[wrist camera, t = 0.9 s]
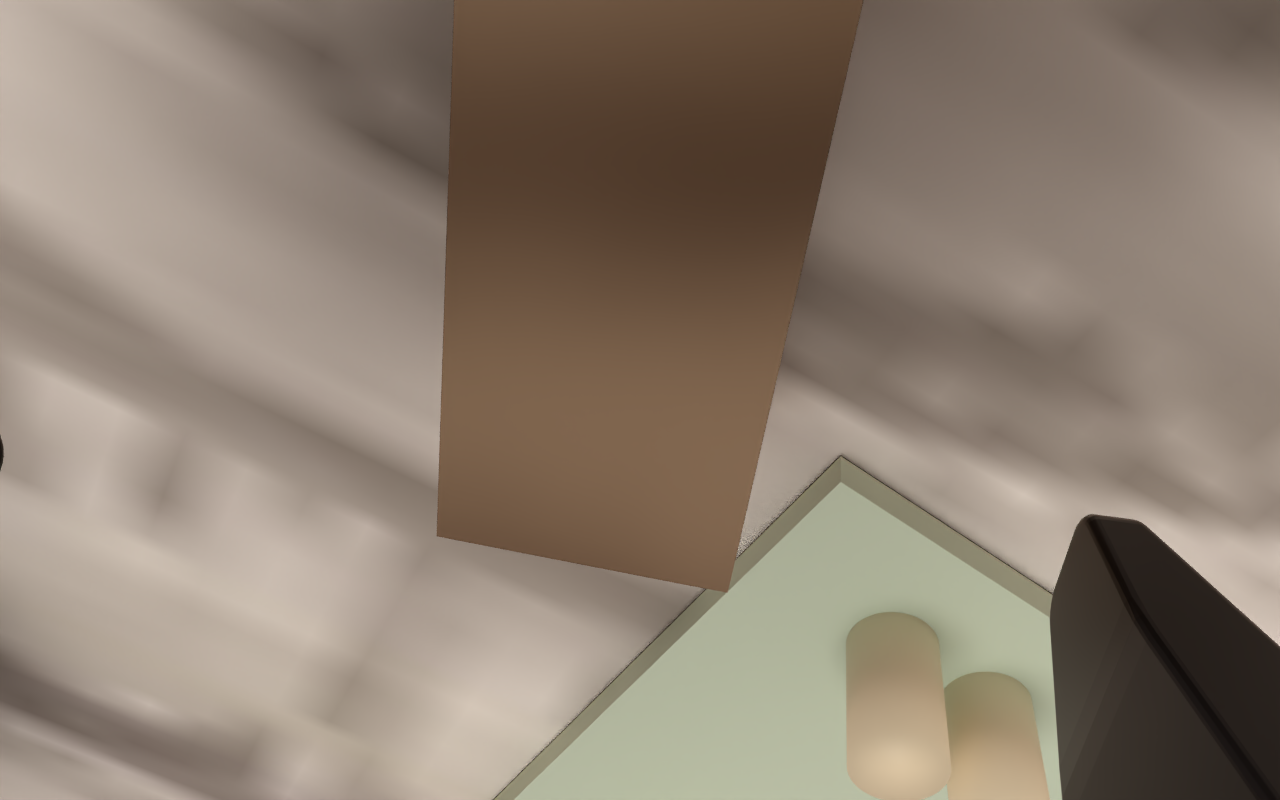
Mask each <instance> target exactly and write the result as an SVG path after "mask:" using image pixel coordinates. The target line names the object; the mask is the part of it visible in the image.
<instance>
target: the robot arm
mask: <svg viewBox="0 0 1280 800" xmlns="http://www.w3.org/2000/svg"><path fill="white" fill-rule="evenodd" d="M3 456H4V449H3V443H2V439H1V436H0V470H1V467H2V463H3ZM1050 635H1051V651H1052V666H1053V681H1054V696H1055V711H1056V727H1057V742H1058V757H1059V771H1060V783H1061V794H1062V800H1280V646H1279V645H1278V644H1276V643H1275V642H1274V641H1273V640H1272V639H1271V638H1270V637H1269V636H1268V635H1267V634H1265V633H1264V632H1263V631H1262V630H1261V629H1260V628H1259V627H1258V626H1257V625H1255V624H1254V623H1253V622H1252V621H1251V620H1250V619H1249V618H1248V617H1247V616H1245V615H1244V614H1243V613H1242V612H1241V611H1240V610H1239V609H1238V608H1237V607H1235V606H1234V605H1233V604H1232V603H1231V602H1230V601H1229V600H1228V599H1227V598H1225V597H1224V596H1223V595H1222V594H1221V593H1220V592H1219V591H1218V590H1217V589H1216V588H1214V587H1213V586H1212V585H1211V584H1210V583H1209V582H1208V581H1207V580H1206V579H1204V578H1203V577H1202V576H1201V575H1200V574H1199V573H1198V572H1197V571H1196V570H1194V569H1193V568H1192V567H1191V566H1190V565H1189V564H1188V563H1187V562H1186V561H1184V560H1183V559H1182V558H1181V557H1180V556H1179V555H1178V554H1177V553H1176V552H1174V551H1173V550H1172V549H1171V548H1170V547H1169V546H1168V545H1167V544H1166V543H1165V542H1163V541H1162V540H1161V539H1160V538H1159V537H1158V536H1157V535H1156V534H1155V533H1153V532H1152V531H1151V530H1150V529H1149V528H1148V527H1147V526H1145V525H1144V524H1143V523H1141V522H1139V521H1137V520H1133V519H1125V518H1118V517H1110V516H1102V515H1095V514H1090V515H1088V516H1085V517H1084V518H1082V519H1081V521H1080V522H1079V524H1078V525H1077V527H1076V529H1075V532H1074V534H1073V537H1072V540H1071V543H1070V546H1069V549H1068V552H1067V555H1066V557H1065V560H1064V563H1063V566H1062V569H1061V572H1060V575H1059V578H1058V580H1057V583H1056V586H1055V589H1054V592H1053V596H1052V601H1051V608H1050Z"/></svg>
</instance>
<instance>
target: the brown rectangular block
mask: <svg viewBox="0 0 1280 800" xmlns="http://www.w3.org/2000/svg"><path fill="white" fill-rule="evenodd" d="M862 4H863V0H454V21H453V52H452V82H451V113H450V144H449V175H448V205H447V236H446V267H445V298H444V329H443V359H442V390H441V421H440V452H439V482H438V513H437V536H439V537H444V538H449V539H454V540H459V541H464V542H469V543H474V544H480V545H485V546H490V547H495V548H500V549H505V550H510V551H515V552H521V553H526V554H531V555H536V556H541V557H546V558H551V559H556V560H562V561H567V562H572V563H577V564H582V565H587V566H592V567H598V568H603V569H608V570H613V571H618V572H623V573H628V574H633V575H639V576H644V577H649V578H654V579H659V580H664V581H669V582H674V583H680V584H685V585H690V586H695V587H700V588H705V589H710V590H715V591H721V592H726V593H728V589H729V585H730V581H731V576H732V572H733V568H734V563H735V559H736V554H737V550H738V546H739V541H740V537H741V533H742V528H743V524H744V520H745V515H746V511H747V506H748V502H749V498H750V493H751V489H752V485H753V480H754V476H755V472H756V467H757V463H758V458H759V454H760V450H761V445H762V441H763V437H764V432H765V428H766V423H767V419H768V415H769V410H770V406H771V402H772V397H773V393H774V389H775V384H776V380H777V375H778V371H779V367H780V362H781V358H782V354H783V349H784V345H785V341H786V336H787V332H788V327H789V323H790V319H791V314H792V310H793V306H794V301H795V297H796V292H797V288H798V284H799V279H800V275H801V271H802V266H803V262H804V258H805V253H806V249H807V244H808V240H809V236H810V231H811V227H812V223H813V218H814V214H815V210H816V205H817V201H818V196H819V192H820V188H821V183H822V179H823V175H824V170H825V166H826V161H827V157H828V153H829V148H830V144H831V140H832V135H833V131H834V127H835V122H836V118H837V113H838V109H839V105H840V100H841V96H842V92H843V87H844V83H845V79H846V74H847V70H848V65H849V61H850V57H851V52H852V48H853V44H854V39H855V35H856V30H857V26H858V22H859V17H860V13H861V9H862Z"/></svg>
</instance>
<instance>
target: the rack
mask: <svg viewBox="0 0 1280 800" xmlns="http://www.w3.org/2000/svg"><path fill="white" fill-rule="evenodd" d="M1052 596H1053V595H1052V594H1050V593H1049V592H1047V591H1046V590H1044V589H1043V588H1041V587H1040V586H1038V585H1037V584H1035V583H1034V582H1032V581H1031V580H1029V579H1028V578H1026V577H1024V576H1023V575H1021V574H1020V573H1018V572H1017V571H1015V570H1014V569H1012V568H1011V567H1009V566H1008V565H1006V564H1005V563H1003V562H1002V561H1000V560H998V559H997V558H995V557H994V556H992V555H991V554H989V553H988V552H986V551H985V550H983V549H982V548H980V547H979V546H977V545H976V544H974V543H973V542H971V541H969V540H968V539H966V538H965V537H963V536H962V535H960V534H959V533H957V532H956V531H954V530H953V529H951V528H950V527H948V526H947V525H945V524H943V523H942V522H940V521H939V520H937V519H936V518H934V517H933V516H931V515H930V514H928V513H927V512H925V511H924V510H922V509H921V508H919V507H918V506H916V505H914V504H913V503H911V502H910V501H908V500H907V499H905V498H904V497H902V496H901V495H899V494H898V493H896V492H895V491H893V490H892V489H890V488H888V487H887V486H885V485H884V484H882V483H881V482H879V481H878V480H876V479H875V478H873V477H872V476H870V475H869V474H867V473H866V472H864V471H863V470H861V469H859V468H858V467H856V466H855V465H853V464H852V463H850V462H849V461H847V460H846V459H844V458H843V457H841V456H840V457H839V458H838V459H837V460H836V461H835V462H834V463H833V464H832V465H831V466H830V467H829V468H828V469H827V470H826V471H825V472H824V473H823V474H822V475H821V476H820V477H819V478H818V479H817V480H816V481H815V482H814V483H813V484H812V485H811V486H810V487H809V488H808V489H807V490H806V491H805V492H804V493H803V494H802V495H801V496H800V497H799V498H798V499H797V500H796V501H795V502H794V503H793V504H792V505H791V506H790V507H789V508H788V509H787V510H786V511H785V512H784V513H783V514H782V515H781V516H780V517H779V518H778V519H777V520H776V521H775V522H774V523H773V524H772V525H771V526H770V527H769V528H768V529H767V530H766V531H765V532H764V533H763V534H762V535H761V536H760V537H759V538H758V539H757V540H756V541H755V542H754V543H753V544H752V545H750V546H749V547H748V548H747V549H746V550H745V551H744V552H743V553H742V554H741V555H740V556H739V557H738V558H737V559H736V560H735V563H734V568H733V572H732V576H731V581H730V585H729V589H728V593H726V592H721V591H715V590H710V589H706V590H705V591H704V592H703V593H702V594H701V595H700V596H699V597H698V598H697V599H696V600H695V601H694V602H693V603H692V604H691V605H690V606H689V607H688V608H687V609H686V610H685V611H684V612H683V613H682V614H681V615H680V616H679V617H678V618H677V619H676V620H675V621H674V622H673V623H672V624H671V625H670V626H669V627H668V628H667V629H666V630H665V631H664V632H663V633H662V634H661V635H660V636H659V637H658V638H657V639H656V640H655V641H654V642H653V643H652V644H651V645H650V646H648V647H647V648H646V649H645V650H644V651H643V652H642V653H641V654H640V655H639V656H638V657H637V658H636V659H635V660H634V661H633V662H632V663H631V664H630V665H629V666H628V667H627V668H626V669H625V670H624V671H623V672H622V673H621V674H620V675H619V676H618V677H617V678H616V679H615V680H614V681H613V682H612V683H611V684H610V685H609V686H608V687H607V688H606V689H605V690H604V691H603V692H602V693H601V694H600V695H599V696H598V697H597V698H596V699H595V700H594V701H593V702H592V703H591V704H590V705H589V706H588V707H587V708H586V709H585V710H584V711H583V712H582V713H581V714H580V715H579V716H578V717H577V718H576V719H575V720H574V721H573V722H572V723H571V724H570V725H569V726H568V727H567V728H566V729H565V730H564V731H563V732H562V733H561V734H560V735H559V736H558V737H557V738H556V739H555V740H554V741H553V742H552V743H551V744H550V745H549V746H548V747H547V748H545V749H544V750H543V751H542V752H541V753H540V754H539V755H538V756H537V757H536V758H535V759H534V760H533V761H532V762H531V763H530V764H529V765H528V766H527V767H526V768H525V769H524V770H523V771H522V772H521V773H520V774H519V775H518V776H517V777H516V778H515V779H514V780H513V781H512V782H511V783H510V784H509V785H508V786H507V787H506V788H505V789H504V790H503V791H502V792H501V793H500V794H499V795H498V796H497V797H496V798H495V799H494V800H1062V794H1061V783H1060V771H1059V757H1058V742H1057V727H1056V711H1055V696H1054V681H1053V666H1052V651H1051V635H1050V608H1051V601H1052Z"/></svg>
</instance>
